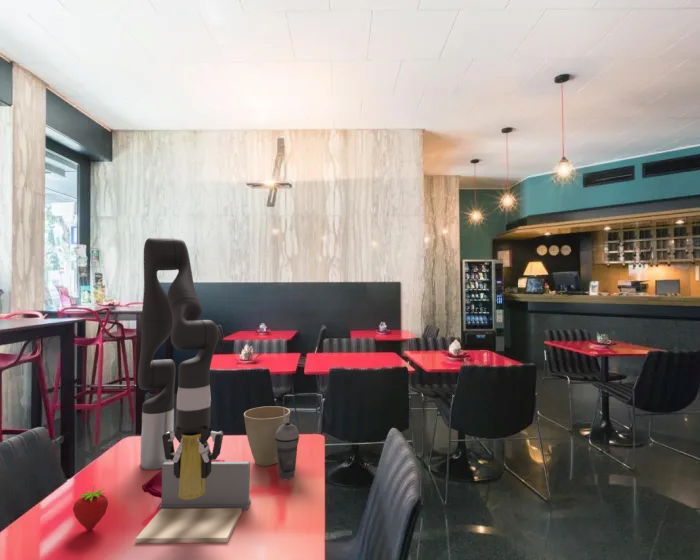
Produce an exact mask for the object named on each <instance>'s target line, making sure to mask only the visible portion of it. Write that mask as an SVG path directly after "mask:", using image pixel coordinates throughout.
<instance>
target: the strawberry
mask: <svg viewBox="0 0 700 560" xmlns="http://www.w3.org/2000/svg"><path fill="white" fill-rule="evenodd" d="M95 487H96V484H94V485H93V490H92V491H87V493H80V494H79V496H81V497H79V498H78V499H77V500H76V501H75V502H74V504H73V507H72V511H73V515H74V517H75V519H76V520H77V521H78V523H80V525H81V526H82V527H84V528H85V530H86V531H92V530H93V529H94V528H95V527H96V525H98V523H99V522H101V520H102V518H103V517H104V515H105V513H106V512H107V508H108V505H109V499H108V497H106V496H105V494H106V492H102V491H104V488H101V489H98V490H95Z"/></svg>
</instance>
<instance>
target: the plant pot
mask: <svg viewBox="0 0 700 560" xmlns="http://www.w3.org/2000/svg"><path fill="white" fill-rule="evenodd" d="M283 409H285V419H286V423H290V422H289V421H290V416H291V410H290V409H289V408H287V407H284V406H279V405H278V406H274V405H273V406H272V405H271V406H270V405H269V406H267V405H266V406H260V407H254V408H250V409H248V410H246V411H245V412H244V413H243V418H244V426H245V427H244V428H245V431H246V437H247V441H248V444H249V448H250V452H251V454H252V458H253V460H254V463H255V464H256V465H257V466H260V467H261V466H262V467H263V466H264V467H267V466H272V465H274V464H278V456H277V445H276V440H275V436H276V432H277V430H278V428H279V427H280V426H281V425H282V424H284V415H283Z"/></svg>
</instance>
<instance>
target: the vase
mask: <svg viewBox="0 0 700 560" xmlns="http://www.w3.org/2000/svg"><path fill="white" fill-rule="evenodd" d="M201 435H202V434H198V435H192V436H186V435H183V434H181V438H182V437H183V442H182V453H181V462H180V479H179V493H178V496H179V498H181V499H186V500H189V499H195V498H198V497H200V496H202V495H203V494H204V493H205V492H206V486H205V478H203V462H204V460H203V457H202V455H201V454H200V453H199V446H200V445H199V443H198V442H197V436H198V437H199V439H200V440H201ZM203 446H204V447H205V444H204V445H203Z"/></svg>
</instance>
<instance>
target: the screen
mask: <svg viewBox="0 0 700 560" xmlns="http://www.w3.org/2000/svg"><path fill="white" fill-rule="evenodd" d="M250 468H251V461H211V473H210V474H209V476H208V477H207V478H205V486H206V492H205V493H204V494H203V495H202V496H200V497H198V498H195V499H189V500H186V499H181V498H179V496H178V493H179V479H180V478H176V476H174V462H164V463H163V464H162V468H161V470H162V471H161V504H160V505H159V506H158V512H159V511H160V510H161V509H214V508H242V509H241V511H248V508H249V506H250V504H251V502H252V501H251V497H250V493H251V492H250V483H251V482H250V477H251V475H250V474H251V473H250V472H251V471H250V470H251V469H250Z"/></svg>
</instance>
